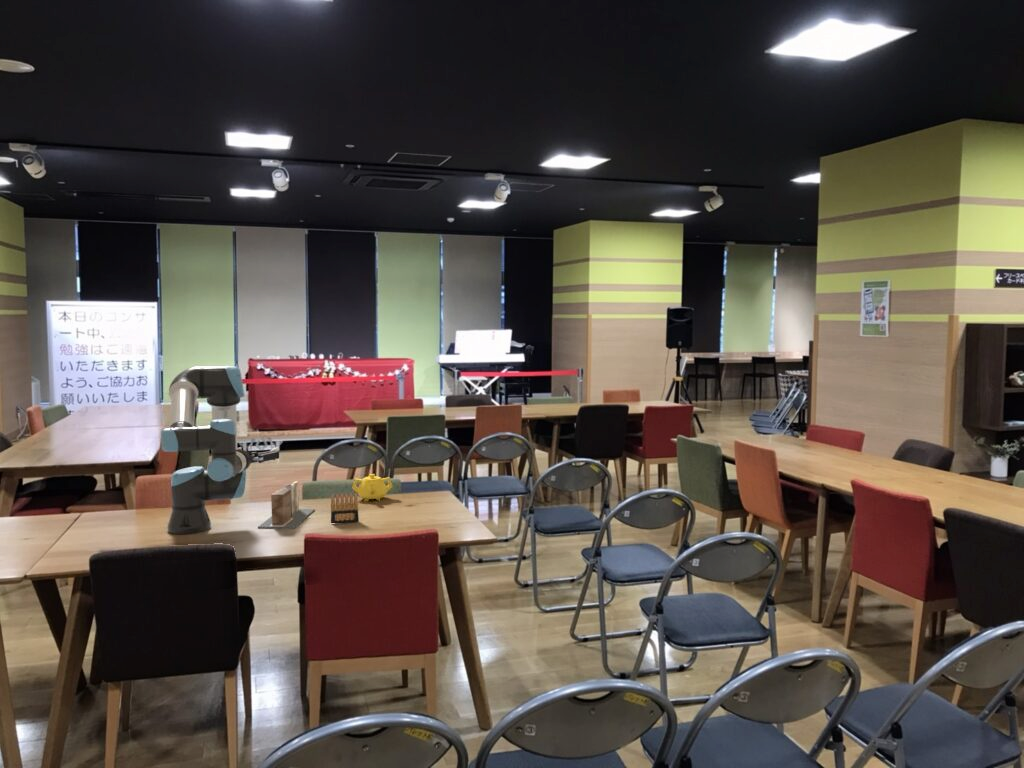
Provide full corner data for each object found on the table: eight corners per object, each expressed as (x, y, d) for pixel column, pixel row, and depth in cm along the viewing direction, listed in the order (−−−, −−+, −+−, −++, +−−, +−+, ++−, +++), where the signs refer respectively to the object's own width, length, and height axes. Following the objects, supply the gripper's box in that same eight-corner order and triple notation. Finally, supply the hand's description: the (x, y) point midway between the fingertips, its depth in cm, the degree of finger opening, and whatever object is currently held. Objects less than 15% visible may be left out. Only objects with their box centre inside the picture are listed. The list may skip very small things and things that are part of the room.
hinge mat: (294, 528, 292) (294, 526, 292) (257, 528, 293) (257, 526, 293) (314, 510, 320) (314, 508, 320) (281, 510, 320) (281, 508, 320)
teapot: (352, 494, 348) (352, 470, 347) (392, 493, 351) (391, 469, 350) (351, 505, 328) (350, 479, 327) (393, 503, 332) (393, 478, 331)
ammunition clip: (358, 521, 303) (357, 491, 302) (358, 522, 301) (358, 492, 300) (330, 523, 300) (330, 493, 299) (331, 524, 298) (330, 494, 297)
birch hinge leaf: (290, 517, 306) (290, 485, 305) (284, 517, 306) (283, 485, 305) (300, 509, 318) (299, 479, 317) (294, 509, 318) (293, 479, 317)
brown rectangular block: (272, 525, 294) (271, 494, 293) (281, 518, 305) (280, 488, 304) (283, 525, 294) (282, 494, 293) (291, 518, 305) (291, 488, 304)
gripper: (200, 472, 259) (225, 460, 280) (273, 473, 258) (293, 461, 279) (199, 450, 258) (224, 440, 279) (272, 451, 257) (292, 440, 278)
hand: (259, 450), depth 279 cm, fingers open, 13 cm apart
